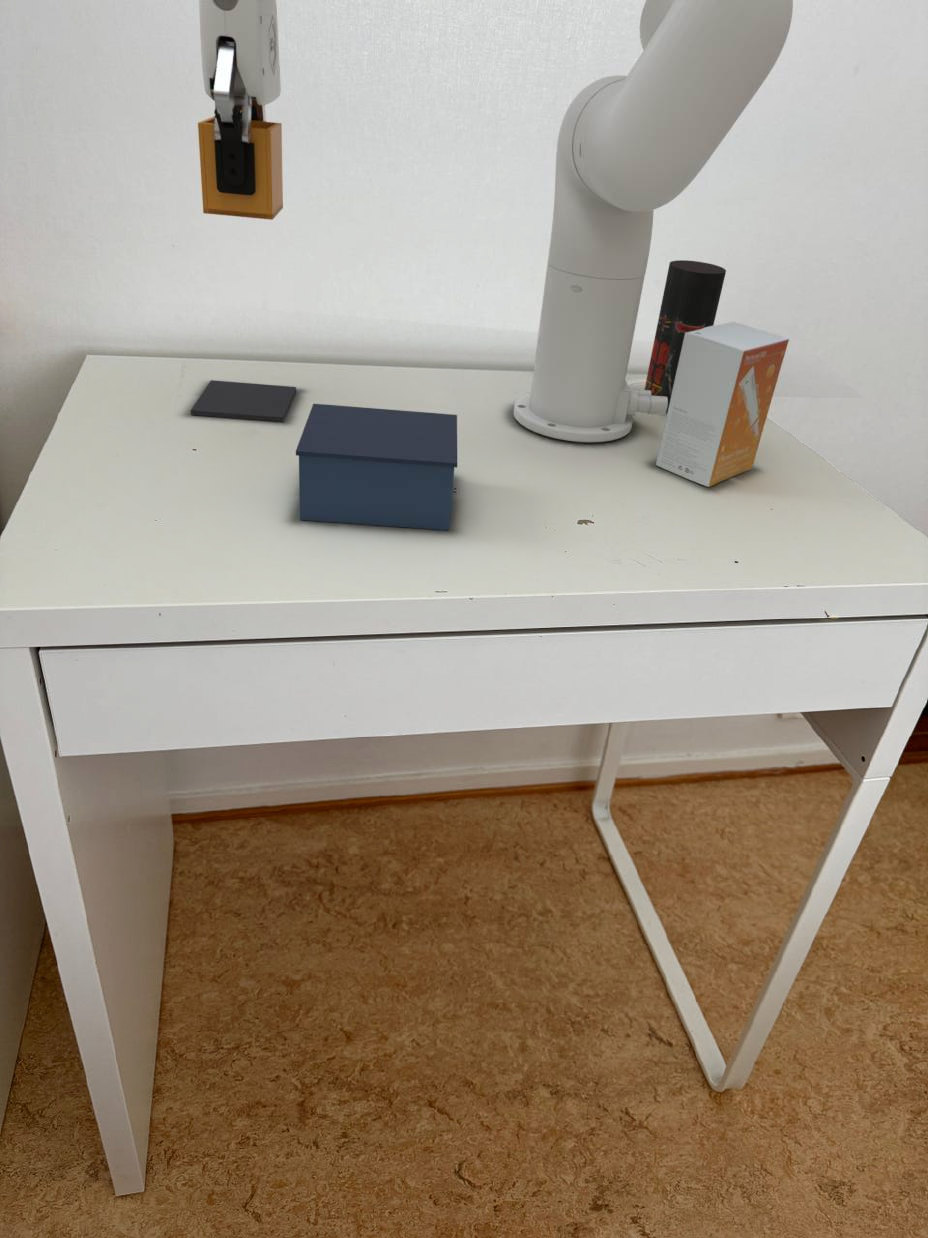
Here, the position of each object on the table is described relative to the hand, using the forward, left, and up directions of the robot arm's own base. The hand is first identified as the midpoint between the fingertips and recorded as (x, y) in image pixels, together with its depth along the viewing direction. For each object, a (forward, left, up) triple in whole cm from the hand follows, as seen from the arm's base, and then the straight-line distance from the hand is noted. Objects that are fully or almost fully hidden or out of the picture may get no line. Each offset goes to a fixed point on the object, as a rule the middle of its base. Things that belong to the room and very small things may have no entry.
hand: (243, 185), depth 81 cm
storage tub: (-14, +18, -21) cm, 31 cm away
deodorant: (-45, -12, -21) cm, 51 cm away
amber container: (0, 0, -2) cm, 2 cm away
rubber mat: (+1, -2, -21) cm, 21 cm away
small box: (-45, +6, -21) cm, 50 cm away
